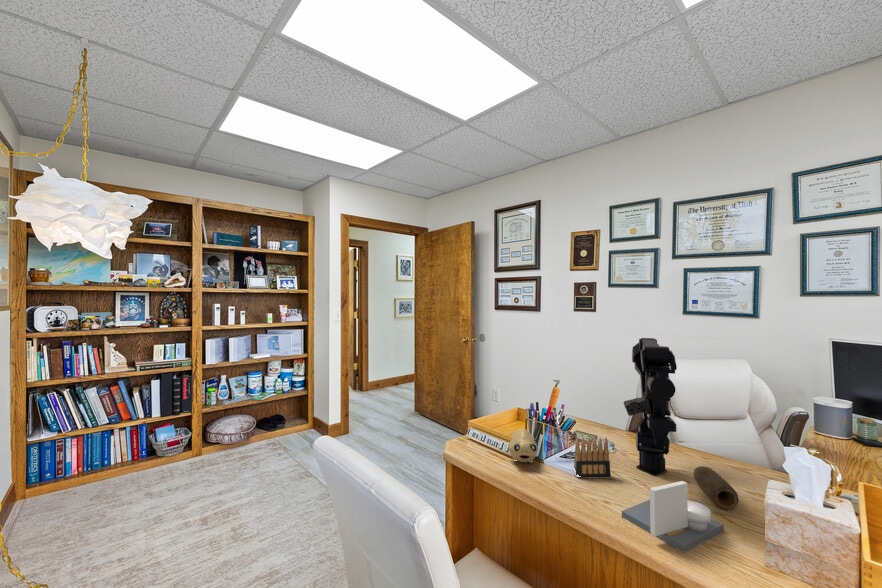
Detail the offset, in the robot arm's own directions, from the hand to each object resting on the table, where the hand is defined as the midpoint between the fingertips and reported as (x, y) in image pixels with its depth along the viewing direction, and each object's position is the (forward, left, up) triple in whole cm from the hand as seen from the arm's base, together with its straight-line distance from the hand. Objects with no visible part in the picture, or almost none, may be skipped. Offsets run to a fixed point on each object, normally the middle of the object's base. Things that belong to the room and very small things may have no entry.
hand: (658, 446), depth 105 cm
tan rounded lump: (-34, -20, -13) cm, 42 cm away
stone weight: (+9, +11, -13) cm, 19 cm away
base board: (+10, -11, -13) cm, 20 cm away
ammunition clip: (-16, -8, -13) cm, 22 cm away
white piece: (+14, -15, -11) cm, 23 cm away
